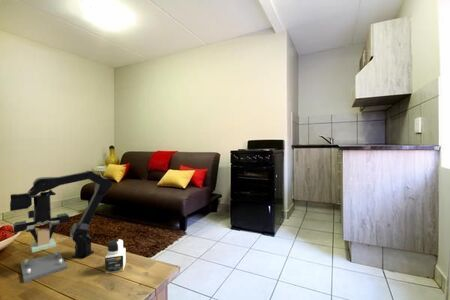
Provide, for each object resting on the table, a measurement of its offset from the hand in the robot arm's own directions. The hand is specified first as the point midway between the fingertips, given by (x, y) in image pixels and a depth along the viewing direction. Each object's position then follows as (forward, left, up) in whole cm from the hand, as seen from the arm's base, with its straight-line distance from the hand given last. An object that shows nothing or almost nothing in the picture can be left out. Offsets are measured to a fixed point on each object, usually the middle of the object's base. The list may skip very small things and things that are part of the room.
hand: (43, 241), depth 98 cm
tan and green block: (0, 0, -2) cm, 2 cm away
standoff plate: (0, 0, -12) cm, 12 cm away
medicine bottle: (-32, -7, -12) cm, 35 cm away
